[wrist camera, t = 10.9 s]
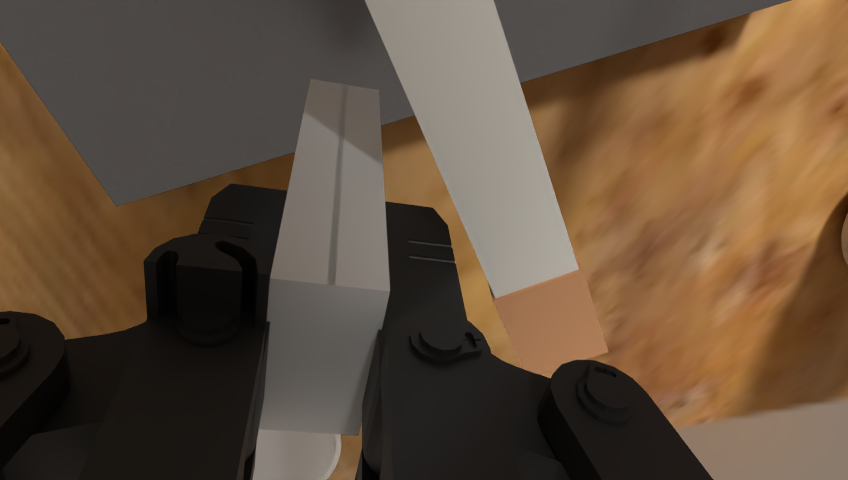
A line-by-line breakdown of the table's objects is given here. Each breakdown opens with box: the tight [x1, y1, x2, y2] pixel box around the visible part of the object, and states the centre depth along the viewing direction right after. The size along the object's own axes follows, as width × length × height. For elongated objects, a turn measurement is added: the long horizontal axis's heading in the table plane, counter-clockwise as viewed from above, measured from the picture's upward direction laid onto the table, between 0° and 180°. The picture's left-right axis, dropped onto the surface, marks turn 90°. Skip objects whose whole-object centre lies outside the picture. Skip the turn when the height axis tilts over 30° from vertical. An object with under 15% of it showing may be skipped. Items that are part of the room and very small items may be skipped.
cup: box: [252, 429, 342, 480], centre depth 23 cm, size 8×10×7 cm
